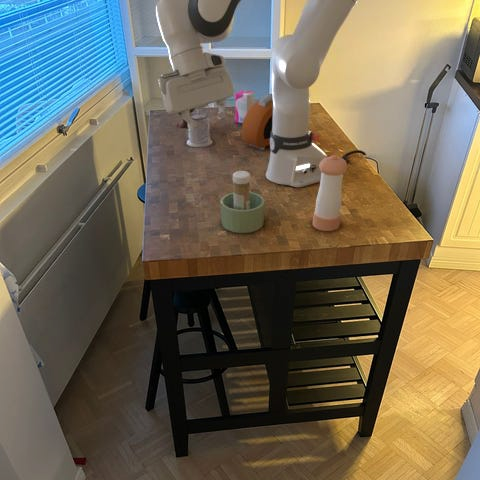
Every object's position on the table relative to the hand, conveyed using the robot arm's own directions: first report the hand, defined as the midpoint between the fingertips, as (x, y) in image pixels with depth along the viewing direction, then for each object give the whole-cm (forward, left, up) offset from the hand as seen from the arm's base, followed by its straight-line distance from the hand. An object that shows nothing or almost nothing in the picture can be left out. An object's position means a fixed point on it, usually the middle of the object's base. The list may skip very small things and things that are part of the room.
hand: (208, 124), depth 123 cm
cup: (-5, +12, -23) cm, 27 cm away
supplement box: (-34, -67, -24) cm, 79 cm away
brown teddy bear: (-10, -72, -24) cm, 76 cm away
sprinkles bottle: (-5, +12, -23) cm, 26 cm away
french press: (-11, -52, -24) cm, 58 cm away
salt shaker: (-26, +21, -24) cm, 41 cm away
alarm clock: (-36, -42, -24) cm, 60 cm away
